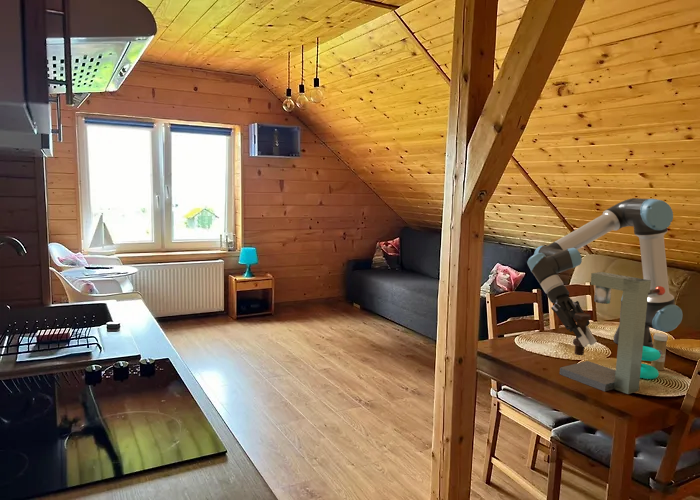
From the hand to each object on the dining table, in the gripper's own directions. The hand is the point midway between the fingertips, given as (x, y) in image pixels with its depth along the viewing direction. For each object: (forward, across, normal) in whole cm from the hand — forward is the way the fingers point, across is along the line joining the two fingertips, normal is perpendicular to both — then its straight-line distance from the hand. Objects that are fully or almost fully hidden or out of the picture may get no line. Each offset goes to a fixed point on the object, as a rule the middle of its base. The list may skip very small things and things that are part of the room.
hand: (590, 344), depth 188 cm
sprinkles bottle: (+14, -32, -4) cm, 35 cm away
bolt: (+1, 0, -6) cm, 7 cm away
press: (+12, -5, -5) cm, 14 cm away
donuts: (+15, -20, -3) cm, 25 cm away
